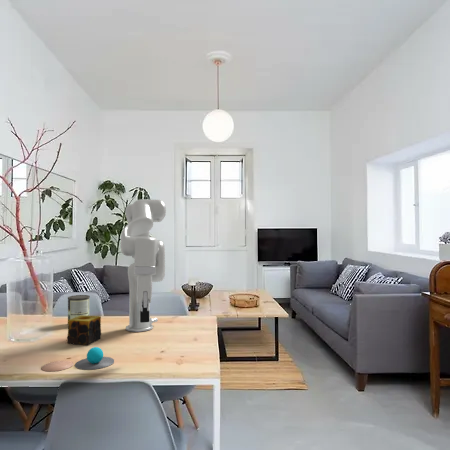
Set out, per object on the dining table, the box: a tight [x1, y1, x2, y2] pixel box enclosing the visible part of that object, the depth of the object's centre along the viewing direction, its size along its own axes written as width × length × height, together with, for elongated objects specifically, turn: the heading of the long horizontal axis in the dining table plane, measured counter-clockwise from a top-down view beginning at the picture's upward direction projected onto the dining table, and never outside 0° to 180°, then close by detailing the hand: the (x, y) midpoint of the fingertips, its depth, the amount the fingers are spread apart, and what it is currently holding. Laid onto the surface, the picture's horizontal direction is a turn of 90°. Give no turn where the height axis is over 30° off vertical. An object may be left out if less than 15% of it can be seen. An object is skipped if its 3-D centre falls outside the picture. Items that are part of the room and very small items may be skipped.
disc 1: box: [41, 360, 75, 372], centre depth 127 cm, size 10×10×1 cm
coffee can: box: [67, 294, 90, 321], centre depth 186 cm, size 10×10×14 cm
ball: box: [86, 346, 104, 364], centre depth 130 cm, size 6×6×6 cm
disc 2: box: [74, 356, 115, 371], centre depth 130 cm, size 13×13×1 cm
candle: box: [66, 315, 102, 346], centre depth 157 cm, size 10×10×10 cm
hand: (144, 321), depth 134 cm, fingers closed
